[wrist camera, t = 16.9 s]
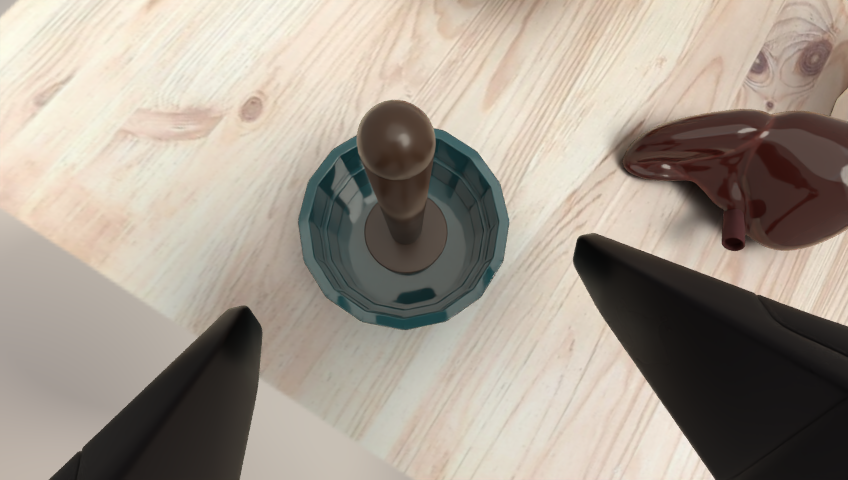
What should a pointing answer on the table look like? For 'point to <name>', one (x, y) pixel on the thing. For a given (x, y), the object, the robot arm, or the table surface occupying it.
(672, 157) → the liver model
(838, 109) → the mug
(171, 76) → the table surface
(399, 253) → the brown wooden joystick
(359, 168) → the stir bowl
